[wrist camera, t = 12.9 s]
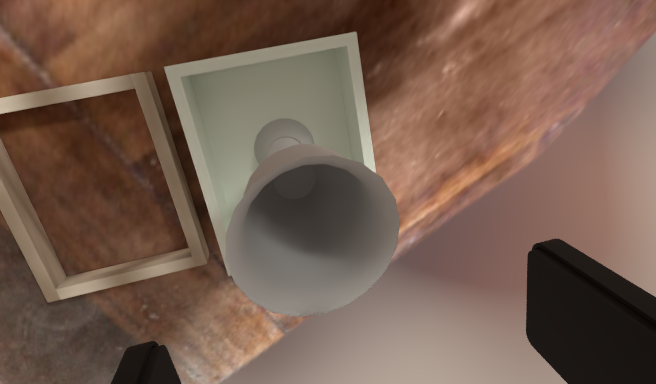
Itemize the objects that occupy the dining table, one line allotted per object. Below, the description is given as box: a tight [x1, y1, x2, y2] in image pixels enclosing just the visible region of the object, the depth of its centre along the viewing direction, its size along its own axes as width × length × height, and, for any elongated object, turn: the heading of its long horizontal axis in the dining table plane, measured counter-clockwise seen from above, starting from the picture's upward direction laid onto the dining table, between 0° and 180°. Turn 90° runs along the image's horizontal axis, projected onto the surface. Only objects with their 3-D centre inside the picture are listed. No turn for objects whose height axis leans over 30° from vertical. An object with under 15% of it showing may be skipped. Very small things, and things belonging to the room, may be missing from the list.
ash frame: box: [0, 71, 210, 303], centre depth 30 cm, size 13×16×2 cm
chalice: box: [226, 118, 400, 317], centre depth 24 cm, size 7×7×18 cm
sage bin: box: [164, 32, 376, 276], centre depth 31 cm, size 13×16×5 cm
